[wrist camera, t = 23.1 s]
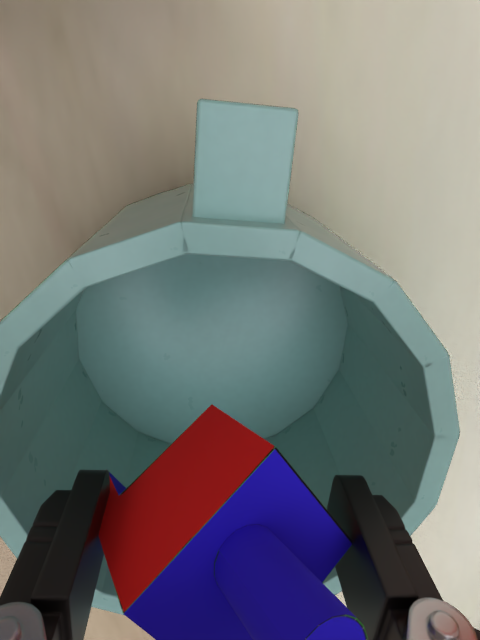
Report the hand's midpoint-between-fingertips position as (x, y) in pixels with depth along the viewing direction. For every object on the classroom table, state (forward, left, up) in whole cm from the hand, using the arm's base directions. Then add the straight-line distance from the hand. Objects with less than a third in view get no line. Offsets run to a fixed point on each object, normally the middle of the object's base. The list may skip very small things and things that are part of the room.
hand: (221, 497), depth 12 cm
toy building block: (0, 0, -1) cm, 1 cm away
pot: (0, 0, -11) cm, 11 cm away
